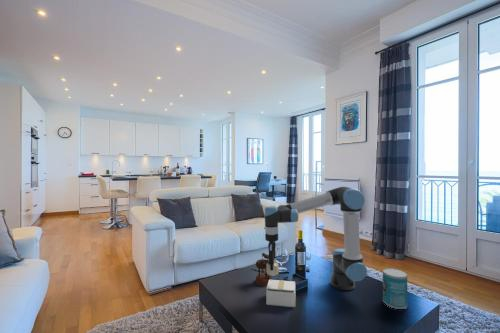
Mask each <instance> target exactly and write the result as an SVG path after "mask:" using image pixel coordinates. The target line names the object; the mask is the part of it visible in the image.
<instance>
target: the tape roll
mask: <svg viewBox="0 0 500 333" xmlns="http://www.w3.org/2000/svg"><path fill="white" fill-rule="evenodd" d="M266 266H267V274H268V275H270V271H269V264H268V263H267V264H266ZM279 266H280V265H279V263H278V262H276V263H275V262H274V276H273V277H275V276H277V275H279V273H280V272H279V269H280V268H279Z"/></svg>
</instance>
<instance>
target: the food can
mask: <svg viewBox="0 0 500 333" xmlns="http://www.w3.org/2000/svg"><path fill="white" fill-rule="evenodd" d="M383 302H384V303H385V304H386V305H387V306H386V305H385V304H384V303H383ZM382 303H383V304H384V305H385V306H386V307H388V306H389V307H388V308H390V307H391V308H390V309H392V308H395V309H394V310H396V309H405V310H406V309H408V274H407V273H406V272H405V271H403V270H400V269H397V268H392V267H391V268H389V267H388V268H384V269H382Z"/></svg>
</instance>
